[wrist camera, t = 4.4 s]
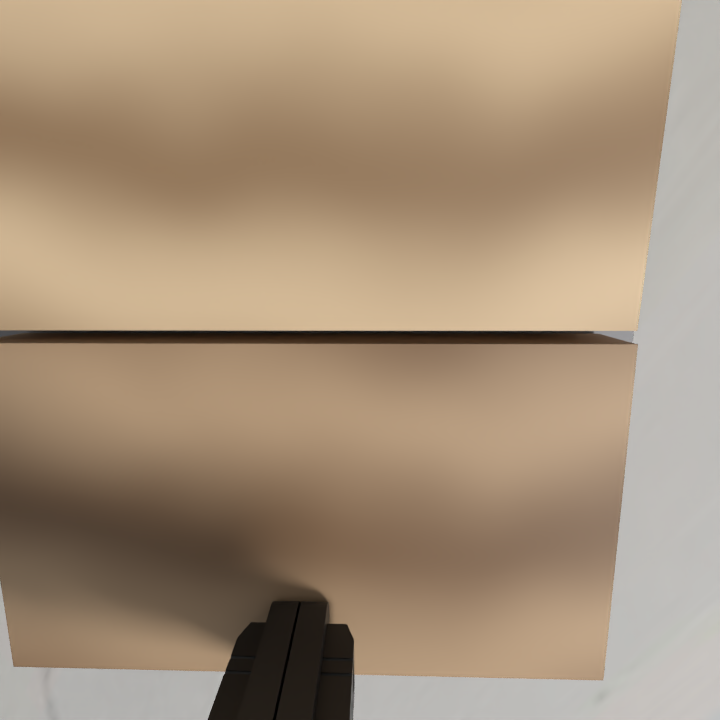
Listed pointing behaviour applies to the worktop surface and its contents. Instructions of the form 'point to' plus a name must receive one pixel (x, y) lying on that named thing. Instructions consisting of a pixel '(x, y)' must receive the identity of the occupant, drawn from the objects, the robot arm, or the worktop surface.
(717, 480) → the worktop surface
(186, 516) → the brown wooden board
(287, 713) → the robot arm
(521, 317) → the oak plank
